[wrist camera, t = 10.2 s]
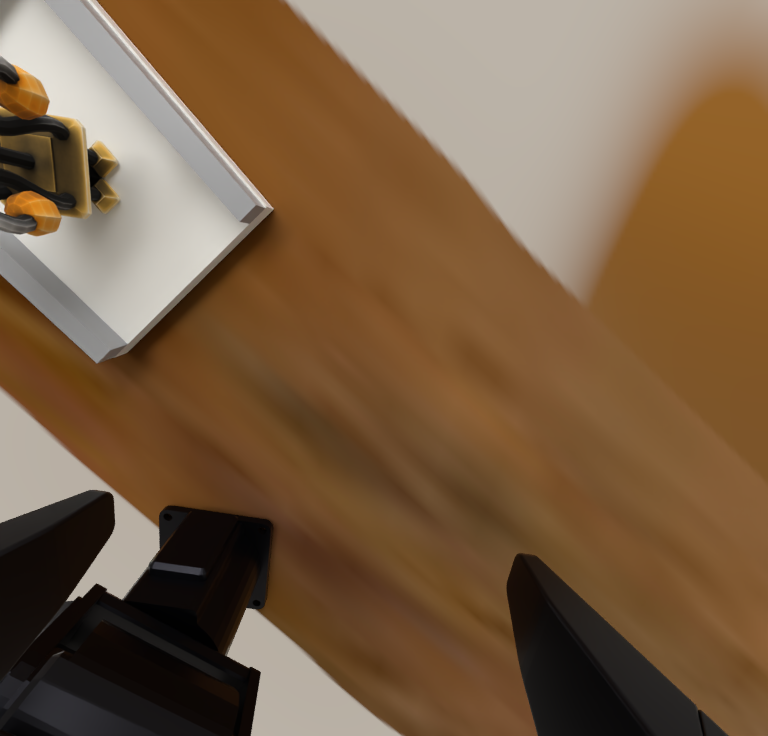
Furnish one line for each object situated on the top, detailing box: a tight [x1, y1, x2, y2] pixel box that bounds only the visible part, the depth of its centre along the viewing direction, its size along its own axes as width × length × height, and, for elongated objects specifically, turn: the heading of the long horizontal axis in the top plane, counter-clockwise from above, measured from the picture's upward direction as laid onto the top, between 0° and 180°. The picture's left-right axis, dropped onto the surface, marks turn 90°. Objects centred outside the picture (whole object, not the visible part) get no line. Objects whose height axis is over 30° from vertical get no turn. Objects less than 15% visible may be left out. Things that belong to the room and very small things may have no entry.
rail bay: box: [0, 0, 274, 363], centre depth 16 cm, size 13×11×2 cm
